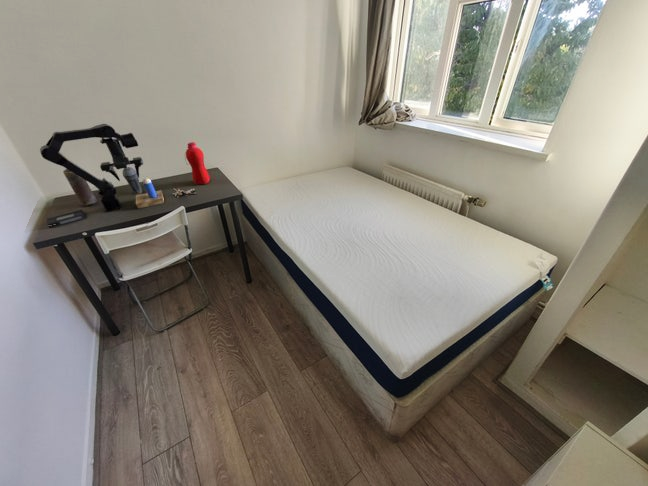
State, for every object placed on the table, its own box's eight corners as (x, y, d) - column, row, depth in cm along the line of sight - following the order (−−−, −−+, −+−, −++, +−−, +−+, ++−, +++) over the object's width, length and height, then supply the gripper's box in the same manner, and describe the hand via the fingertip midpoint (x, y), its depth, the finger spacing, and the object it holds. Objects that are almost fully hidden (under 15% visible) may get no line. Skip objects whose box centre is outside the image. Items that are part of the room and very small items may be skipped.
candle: (96, 199, 159) (78, 166, 147) (99, 203, 154) (80, 169, 143) (80, 203, 154) (60, 169, 142) (83, 208, 150) (62, 173, 138)
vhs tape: (84, 218, 141) (82, 215, 140) (49, 228, 134) (47, 224, 133) (83, 212, 146) (81, 209, 145) (49, 222, 139) (47, 218, 137)
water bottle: (194, 180, 180) (182, 141, 165) (211, 179, 181) (200, 140, 166) (190, 185, 172) (177, 145, 158) (208, 184, 173) (196, 144, 158)
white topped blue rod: (151, 203, 154) (141, 180, 146) (151, 200, 157) (141, 178, 149) (159, 201, 155) (149, 179, 147) (158, 198, 158) (149, 176, 150)
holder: (138, 208, 149) (135, 203, 147) (138, 199, 157) (136, 195, 156) (164, 202, 154) (162, 198, 152) (163, 194, 162) (161, 190, 161)
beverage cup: (133, 196, 161) (117, 163, 150) (130, 192, 166) (114, 159, 154) (146, 192, 165) (132, 160, 153) (143, 188, 170) (129, 156, 158)
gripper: (92, 158, 131) (108, 188, 140) (136, 151, 138) (148, 180, 147) (95, 151, 139) (109, 180, 148) (136, 146, 146) (148, 173, 155)
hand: (129, 179), depth 149 cm, fingers open, 9 cm apart
